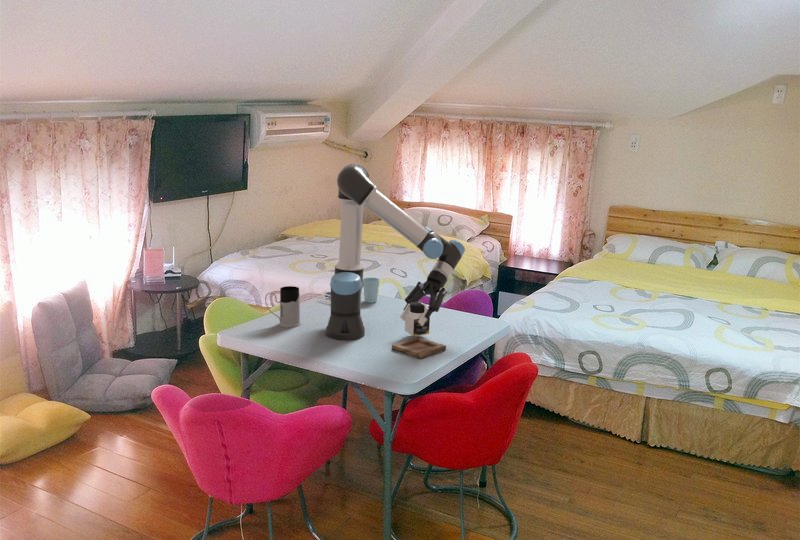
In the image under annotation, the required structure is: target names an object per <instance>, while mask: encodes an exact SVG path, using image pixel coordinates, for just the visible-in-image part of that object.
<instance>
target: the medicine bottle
mask: <svg viewBox="0 0 800 540" xmlns="http://www.w3.org/2000/svg"><path fill="white" fill-rule="evenodd" d="M426 308H427V305H426V303H424V302H421V301H417V302H413V303H412V302H411V304H410V313H409V314H405V321H404V331H405V333H407V334H409V335H410V336H412V337H419V336H425V335H427V336H428V335H430V326H431V325H430V321H431V320H430V317H431V316H430V317H429V318H428V319H427V320H426V321H425V323H424V325H423V326H421V325H420V324H419V323H418V321H419V319H420V318H421V316H422V315H423V313H424V311H425V310H426Z"/></svg>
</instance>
